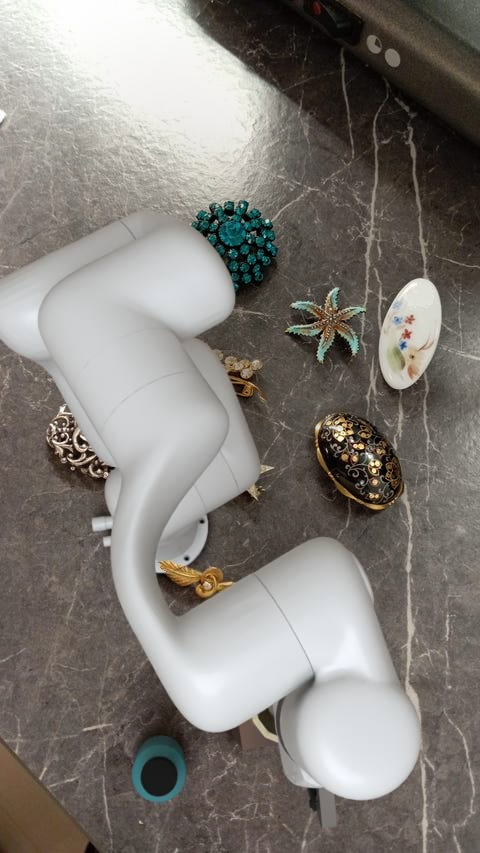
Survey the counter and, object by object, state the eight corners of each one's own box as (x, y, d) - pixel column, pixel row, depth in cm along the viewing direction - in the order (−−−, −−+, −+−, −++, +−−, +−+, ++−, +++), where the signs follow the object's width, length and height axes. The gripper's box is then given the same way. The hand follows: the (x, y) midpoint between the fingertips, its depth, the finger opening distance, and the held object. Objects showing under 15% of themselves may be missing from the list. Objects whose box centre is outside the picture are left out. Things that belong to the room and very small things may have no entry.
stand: (231, 735, 119) (242, 750, 98) (221, 665, 121) (230, 666, 100) (298, 724, 119) (323, 737, 99) (287, 655, 122) (309, 653, 101)
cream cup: (249, 740, 99) (256, 749, 89) (239, 673, 100) (245, 674, 91) (313, 730, 99) (328, 737, 90) (302, 663, 101) (315, 663, 91)
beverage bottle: (134, 735, 118) (125, 749, 98) (185, 730, 118) (186, 743, 99) (136, 788, 116) (128, 813, 97) (188, 783, 117) (190, 807, 97)
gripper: (258, 605, 66) (242, 616, 82) (297, 861, 61) (271, 817, 78) (359, 590, 66) (322, 604, 83) (403, 842, 62) (356, 803, 79)
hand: (298, 707), depth 80 cm, fingers open, 9 cm apart
